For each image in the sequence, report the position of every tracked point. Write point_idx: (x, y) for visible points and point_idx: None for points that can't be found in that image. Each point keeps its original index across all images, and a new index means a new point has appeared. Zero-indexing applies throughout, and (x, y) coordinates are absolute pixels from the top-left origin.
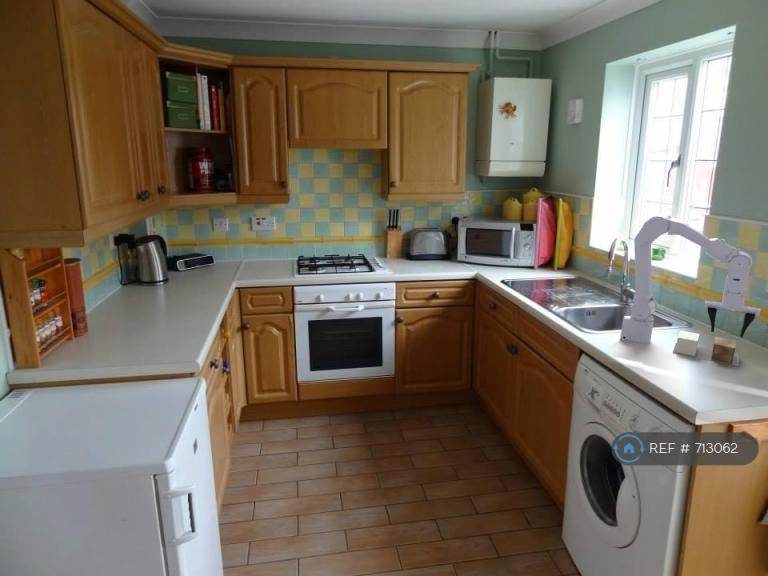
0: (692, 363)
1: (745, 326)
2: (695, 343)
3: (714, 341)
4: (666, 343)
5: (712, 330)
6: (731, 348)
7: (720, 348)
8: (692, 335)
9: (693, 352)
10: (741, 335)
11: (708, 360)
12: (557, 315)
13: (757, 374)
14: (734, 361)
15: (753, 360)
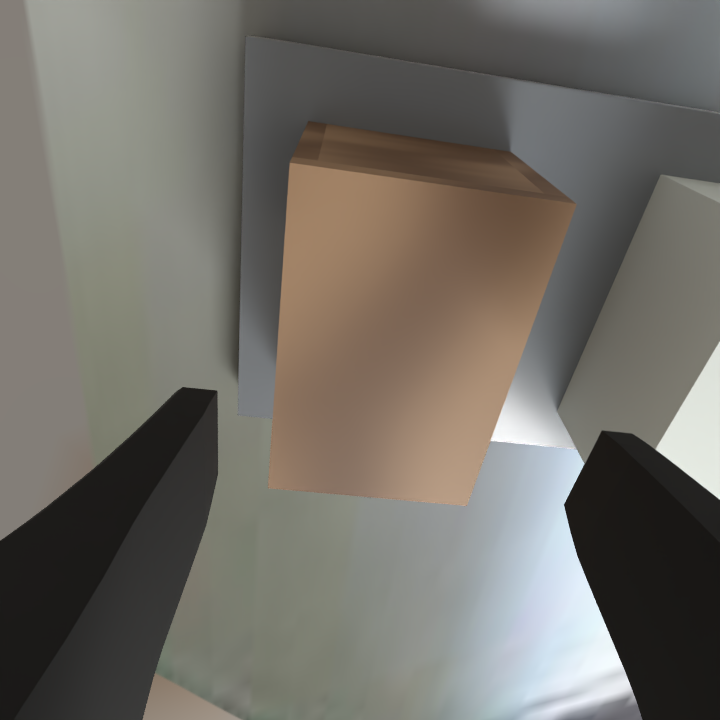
0: (701, 31)
1: (63, 536)
2: None
3: (528, 335)
4: None
5: (640, 445)
6: (340, 165)
7: (473, 176)
8: None
9: (700, 188)
10: (192, 400)
11: (552, 88)
12: None
13: (65, 11)
14: (282, 202)
15: (139, 407)
